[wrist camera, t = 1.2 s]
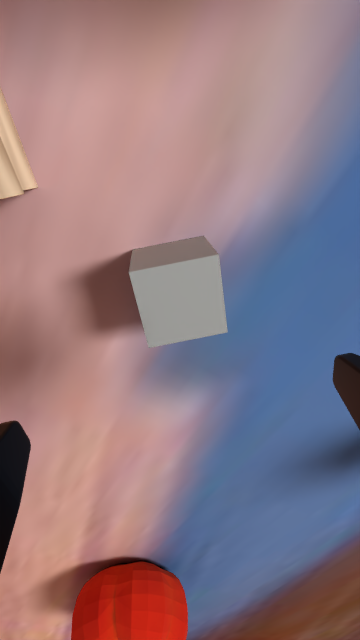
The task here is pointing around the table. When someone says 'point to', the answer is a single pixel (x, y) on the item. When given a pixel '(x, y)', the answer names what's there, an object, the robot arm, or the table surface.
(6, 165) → the slab upper
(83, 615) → the tomato
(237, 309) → the table surface
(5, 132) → the slab lower
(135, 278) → the cube
